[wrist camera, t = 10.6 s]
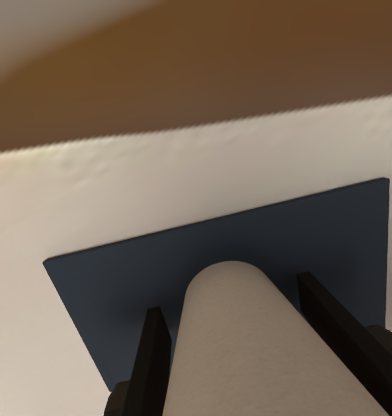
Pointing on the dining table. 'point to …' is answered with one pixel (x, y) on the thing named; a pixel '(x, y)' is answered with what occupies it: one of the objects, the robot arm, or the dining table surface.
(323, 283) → the placemat
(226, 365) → the dixie cup
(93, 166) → the dining table surface
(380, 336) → the robot arm
